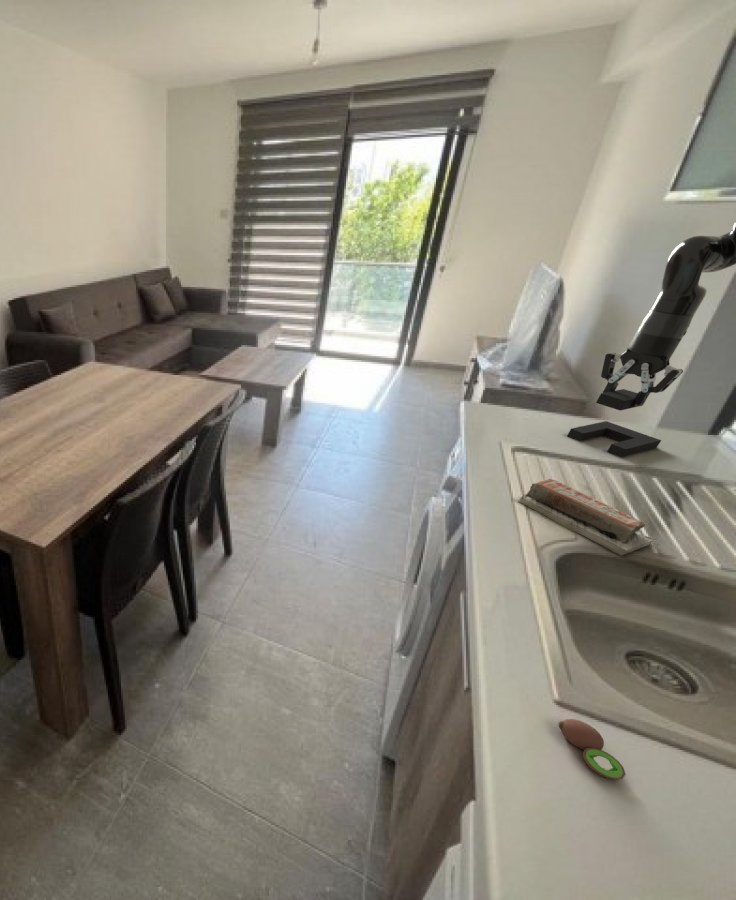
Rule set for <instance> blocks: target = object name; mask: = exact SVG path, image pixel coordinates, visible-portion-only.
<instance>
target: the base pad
mask: <svg viewBox="0 0 736 900" xmlns="http://www.w3.org/2000/svg"><path fill="white" fill-rule="evenodd" d="M566 437H568V438H571V439H573V440H576V441H577V442H582V441H586V440H591V439H595V438H600V437H606V438H608V439H610V440H613V441H616V442H613V443H610V445H609V447H608V449H607V450H606V453H609V454H610V455H614V456H616V457H619V458H624V457H628V456H632V455H635V454H639V453H643V452H648V451H651V450H655V449H657V448H658V447H659V445H660V443H661V442H662V440H661V439H658V438H656V437H653V436H650V435H648V434H644V433H642V432H639V431H636V430H633V429H630V428H629V427H628V428H627V427H625V426H621V425H619V424H616V423H613V422H611V421H608V420H604V421H600V422H595V423H591V424H586V425H581V426H577V427H571V428H570V429H569V432H568V434H567V435H566Z"/></svg>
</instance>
